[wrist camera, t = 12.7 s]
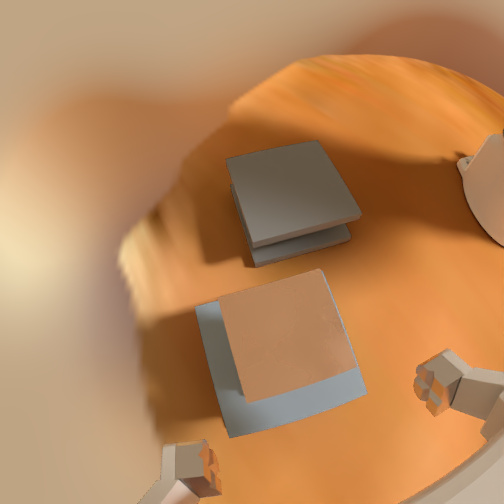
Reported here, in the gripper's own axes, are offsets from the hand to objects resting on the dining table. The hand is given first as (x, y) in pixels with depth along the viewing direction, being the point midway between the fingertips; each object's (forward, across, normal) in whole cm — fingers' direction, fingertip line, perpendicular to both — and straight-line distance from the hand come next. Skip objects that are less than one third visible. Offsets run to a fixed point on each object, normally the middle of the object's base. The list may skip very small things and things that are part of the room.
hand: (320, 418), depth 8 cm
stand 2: (+13, 0, +8) cm, 15 cm away
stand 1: (+23, -6, -2) cm, 24 cm away
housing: (+9, 0, +4) cm, 10 cm away
